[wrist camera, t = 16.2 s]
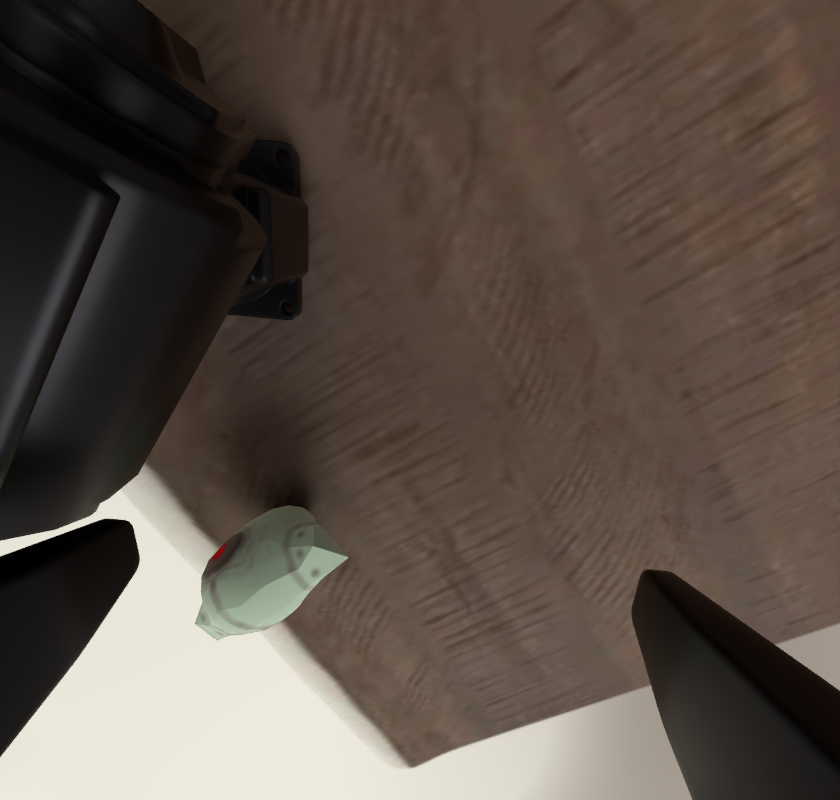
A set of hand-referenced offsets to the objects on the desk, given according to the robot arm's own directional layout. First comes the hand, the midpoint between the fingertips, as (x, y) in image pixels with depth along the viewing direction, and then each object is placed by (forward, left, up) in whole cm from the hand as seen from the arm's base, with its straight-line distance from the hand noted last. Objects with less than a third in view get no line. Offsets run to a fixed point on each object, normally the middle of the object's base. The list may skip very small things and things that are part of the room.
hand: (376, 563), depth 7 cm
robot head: (-6, -9, -12) cm, 16 cm away
